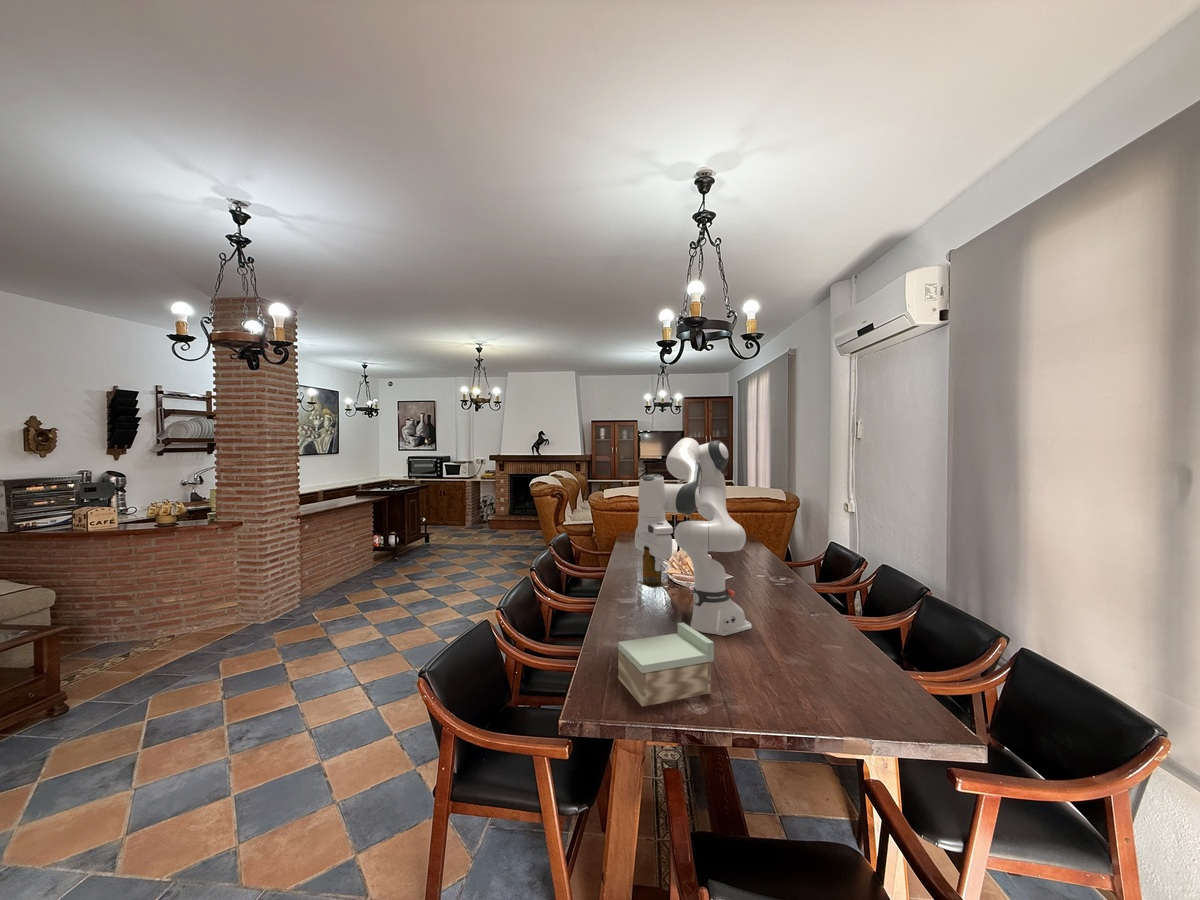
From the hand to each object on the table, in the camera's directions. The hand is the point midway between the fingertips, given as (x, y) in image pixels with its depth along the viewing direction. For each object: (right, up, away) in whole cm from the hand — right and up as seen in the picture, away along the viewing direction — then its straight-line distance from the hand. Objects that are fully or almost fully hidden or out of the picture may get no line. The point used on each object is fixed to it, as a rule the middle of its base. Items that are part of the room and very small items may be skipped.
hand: (652, 567), depth 151 cm
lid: (+1, -18, -22) cm, 29 cm away
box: (0, -27, -22) cm, 35 cm away
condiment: (0, -5, -1) cm, 5 cm away
